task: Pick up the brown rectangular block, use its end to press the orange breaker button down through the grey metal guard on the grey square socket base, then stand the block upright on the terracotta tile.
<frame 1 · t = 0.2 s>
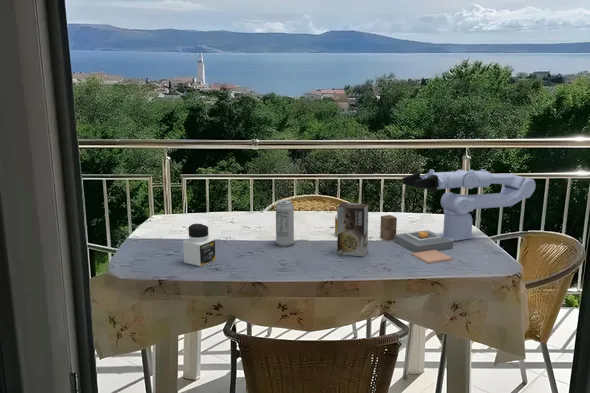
hand: (409, 182, 191), 21 cm above the table, tool horizontal, fingers open, 7 cm apart
coffee box: (352, 253, 186), on the table
grey square socket base: (422, 244, 194), on the table
medicine bottle: (199, 262, 178), on the table
breaker button: (423, 235, 193), point 3 cm above the table, slide at 0.0 cm
brown rectangular block: (388, 238, 201), on the table
terracotta tile: (431, 257, 181), on the table
supplement bottle: (342, 235, 206), on the table
energy drink can: (285, 244, 195), on the table
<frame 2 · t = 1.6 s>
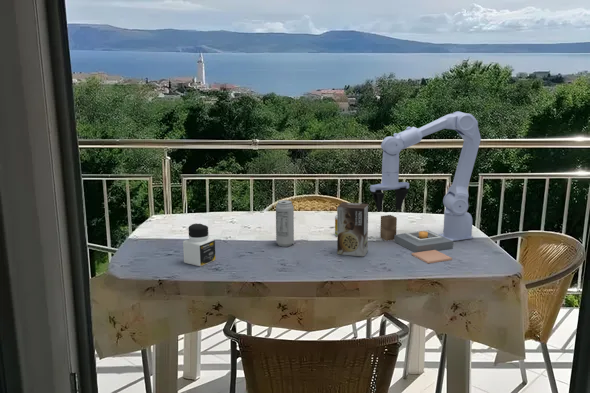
hand: (389, 210, 199), 10 cm above the table, tool pointing down, fingers open, 7 cm apart
nothing on the table moved.
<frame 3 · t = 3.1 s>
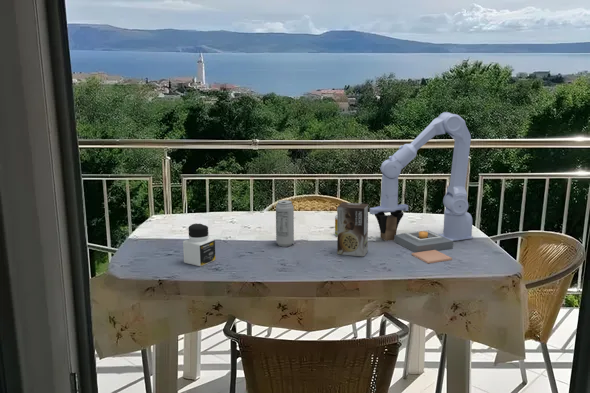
hand: (388, 232, 201), 2 cm above the table, tool pointing down, fingers closed on brown rectangular block, 4 cm apart
brown rectangular block: (388, 238, 201), on the table, touching gripper
everything else where it was.
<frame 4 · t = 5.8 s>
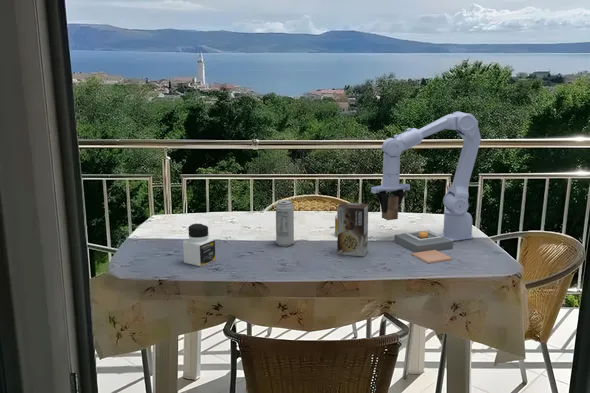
hand: (389, 211, 199), 10 cm above the table, tool pointing down, fingers closed on brown rectangular block, 4 cm apart
brown rectangular block: (389, 218, 200), point 7 cm above the table, touching gripper
everything else where it was.
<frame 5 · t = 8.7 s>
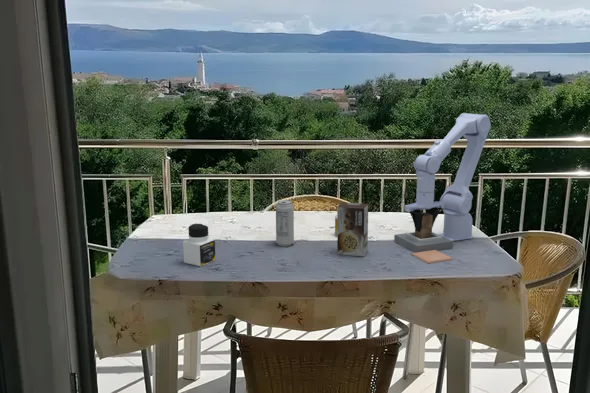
hand: (423, 230, 193), 5 cm above the table, tool pointing down, fingers closed on brown rectangular block, 4 cm apart
breaker button: (423, 240, 194), point 2 cm above the table, slide at 1.7 cm, touching brown rectangular block
brown rectangular block: (423, 237, 193), point 3 cm above the table, touching breaker button, gripper
everything else where it was.
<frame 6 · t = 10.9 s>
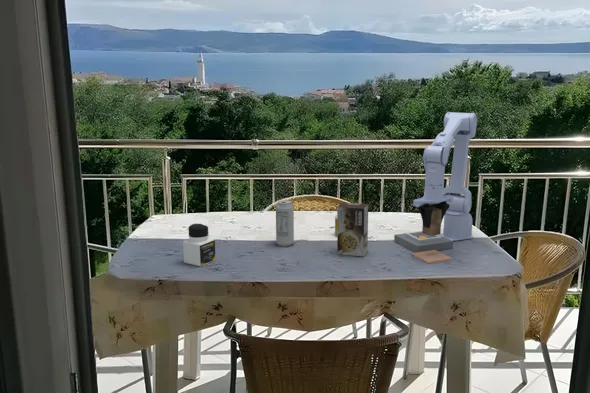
hand: (432, 226, 180), 10 cm above the table, tool pointing down, fingers closed on brown rectangular block, 4 cm apart
breaker button: (423, 240, 194), point 2 cm above the table, slide at 1.7 cm
brown rectangular block: (431, 233, 181), point 8 cm above the table, touching gripper
everything else where it was.
when the fingers open (4 cm above the table, at t = 13.2 s): brown rectangular block stays where it is, resting on terracotta tile.
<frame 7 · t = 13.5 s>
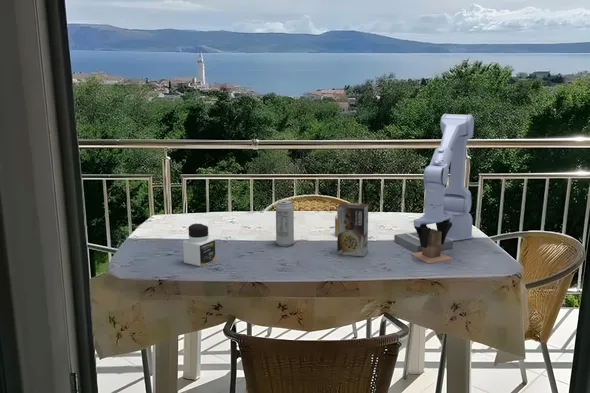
hand: (432, 245, 180), 4 cm above the table, tool pointing down, fingers open, 6 cm apart
brown rectangular block: (431, 255, 181), point 1 cm above the table, touching terracotta tile
everything else where it was.
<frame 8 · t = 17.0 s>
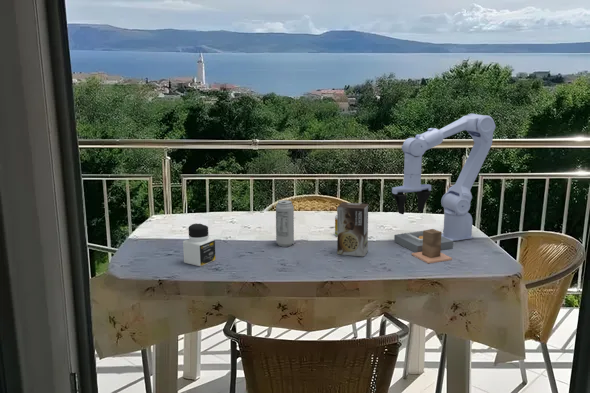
hand: (410, 212, 196), 10 cm above the table, tool pointing down, fingers open, 7 cm apart
nothing on the table moved.
at the end: breaker button slide at 1.7 cm; brown rectangular block 0.2 cm from the terracotta tile (horizontally); brown rectangular block tilted 0° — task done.
